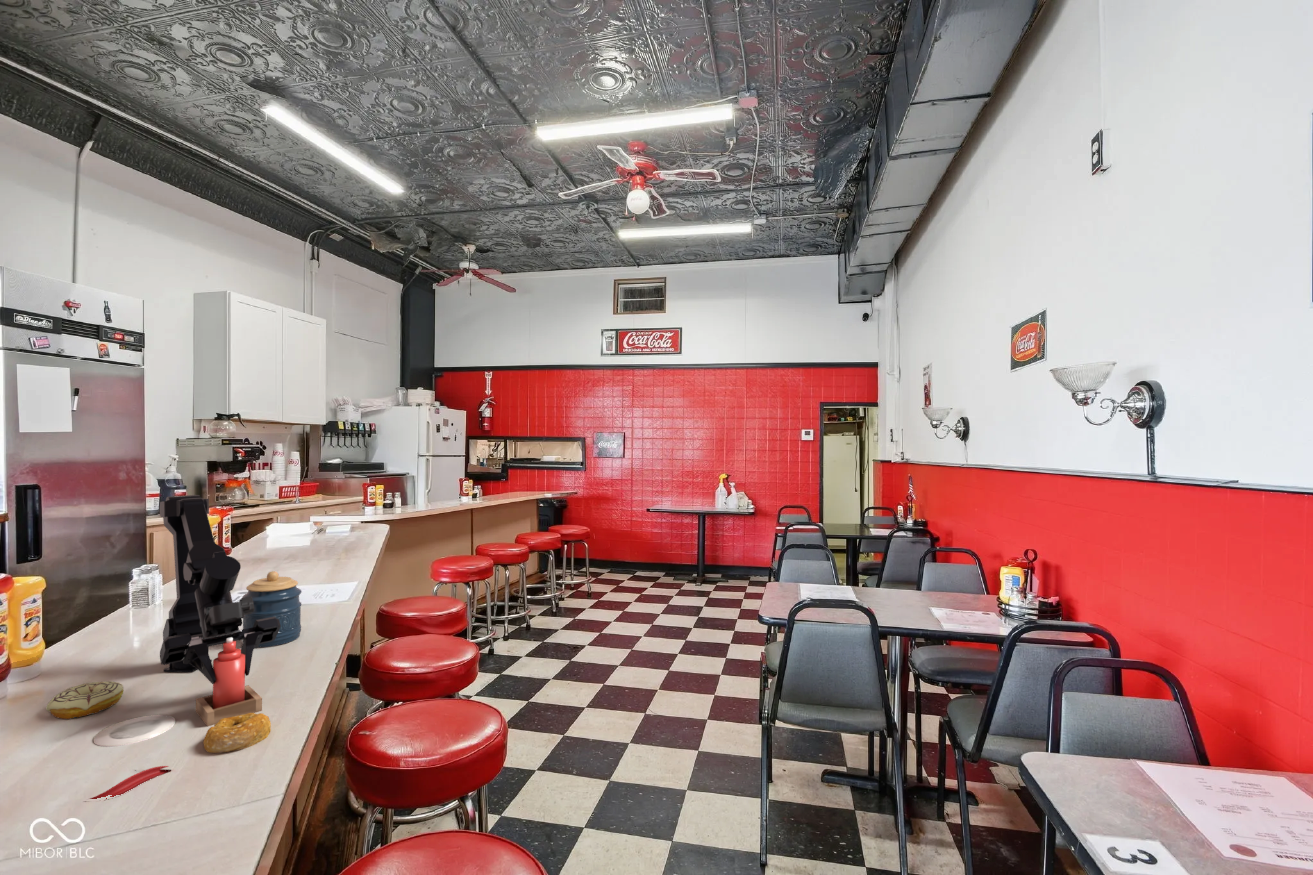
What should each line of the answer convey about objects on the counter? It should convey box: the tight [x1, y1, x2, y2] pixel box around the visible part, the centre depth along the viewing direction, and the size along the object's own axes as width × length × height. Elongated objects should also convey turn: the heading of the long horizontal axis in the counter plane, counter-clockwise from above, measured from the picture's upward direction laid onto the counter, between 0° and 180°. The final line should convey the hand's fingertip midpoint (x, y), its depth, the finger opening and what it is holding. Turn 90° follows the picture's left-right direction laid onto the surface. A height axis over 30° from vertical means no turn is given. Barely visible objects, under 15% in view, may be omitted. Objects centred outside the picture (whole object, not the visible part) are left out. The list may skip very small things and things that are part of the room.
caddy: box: [195, 685, 263, 727], centre depth 117 cm, size 9×9×3 cm
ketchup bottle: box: [212, 637, 246, 709], centre depth 117 cm, size 5×5×14 cm
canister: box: [241, 570, 303, 648], centre depth 158 cm, size 13×13×18 cm
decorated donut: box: [45, 680, 124, 720], centre depth 118 cm, size 10×11×4 cm
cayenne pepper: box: [89, 765, 173, 799], centre depth 93 cm, size 12×5×2 cm, turn 136°
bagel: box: [202, 712, 272, 754], centre depth 107 cm, size 10×11×5 cm
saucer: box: [93, 714, 176, 747], centre depth 109 cm, size 11×11×1 cm
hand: (231, 678), depth 116 cm, fingers closed on ketchup bottle, 5 cm apart
